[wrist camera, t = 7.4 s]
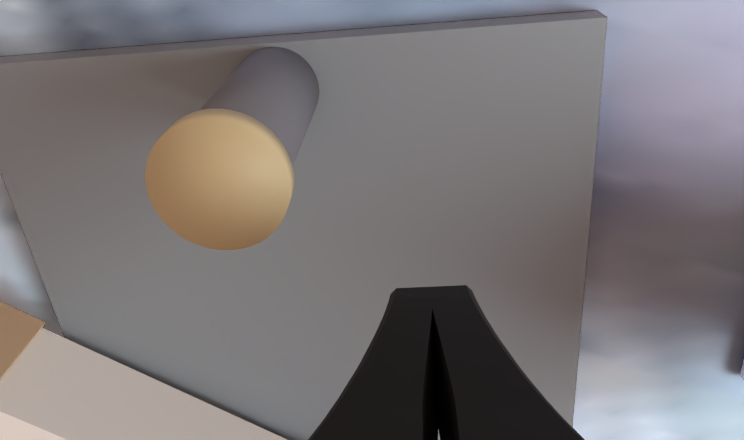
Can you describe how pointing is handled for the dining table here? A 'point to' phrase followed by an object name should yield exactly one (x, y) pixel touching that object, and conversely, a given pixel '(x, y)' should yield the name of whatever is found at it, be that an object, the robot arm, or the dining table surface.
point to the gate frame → (308, 198)
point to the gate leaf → (94, 394)
